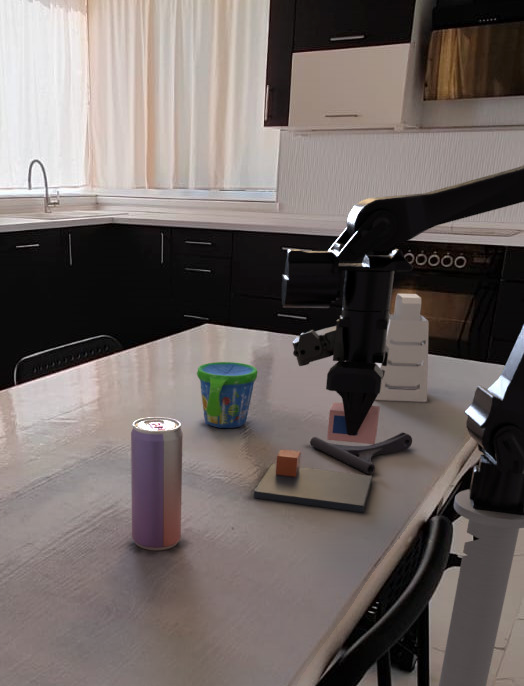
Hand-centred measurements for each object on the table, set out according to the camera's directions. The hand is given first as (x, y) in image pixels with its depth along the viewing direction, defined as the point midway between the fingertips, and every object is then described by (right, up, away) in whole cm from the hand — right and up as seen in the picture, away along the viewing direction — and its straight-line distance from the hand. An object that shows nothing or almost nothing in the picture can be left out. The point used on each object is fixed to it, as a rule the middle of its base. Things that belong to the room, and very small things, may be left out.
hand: (353, 430), depth 101 cm
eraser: (0, -1, 0) cm, 1 cm away
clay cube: (-6, -5, +13) cm, 16 cm away
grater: (+24, +14, +60) cm, 66 cm away
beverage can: (-26, -14, -6) cm, 30 cm away
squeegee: (+9, -2, +25) cm, 26 cm away
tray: (-3, -8, +10) cm, 13 cm away
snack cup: (-14, +5, +40) cm, 42 cm away
